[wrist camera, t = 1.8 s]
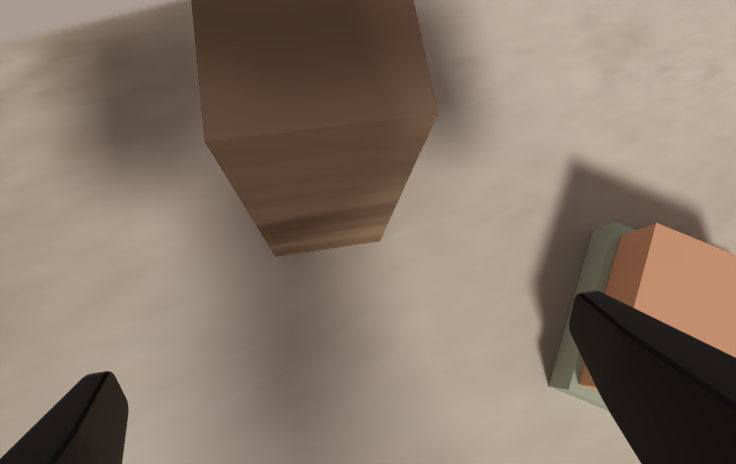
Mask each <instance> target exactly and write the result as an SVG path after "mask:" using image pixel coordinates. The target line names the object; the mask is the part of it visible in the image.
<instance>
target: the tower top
mask: <svg viewBox="0 0 736 464" xmlns="http://www.w3.org/2000/svg"><path fill="white" fill-rule="evenodd" d="M604 294H606V295H609V296H611V297H613V298H615V299H617V300H619V301H621V302H623V303H625V304H627V305H629V306H631V307H633V308H635V309H637V310H639V311H641V312H643V313H645V314H648V315H650V316H652V317H654V318H656V319H658V320H660V321H662V322H664V323H666V324H668V325H670V326H672V327H674V328H676V329H678V330H680V331H682V332H684V333H686V334H689V335H691V336H693V337H695V338H697V339H699V340H701V341H703V342H705V343H707V344H709V345H711V346H713V347H715V348H717V349H719V350H721V351H723V352H725V353H727V354H730V355H732V356H734V357H736V255H734V254H731V253H729V252H727V251H724V250H722V249H719V248H717V247H714V246H712V245H710V244H707V243H705V242H702V241H700V240H697V239H695V238H692V237H690V236H688V235H685V234H683V233H680V232H678V231H675V230H673V229H671V228H668V227H666V226H663V225H661V224H658V223H654V224H652V225H649V226H646V227H644V228H641V229H638V230H635V231H633V232H630V233H627V234H625V235H622V236H621V237H620V240H619V244H618V247H617V251H616V254H615V258H614V261H613V265H612V268H611V272H610V275H609V279H608V282H607V286H606V289H605V293H604ZM579 385H582V386H584V387H586V388H589V389H591V390H594V391H596V392H598V390H597V388H596V386H595V384H594V382H593V380H592V378H591V376H590V374H589V371H588V369H587V367H586V365H585V363H584V367H583V370H582V374H581V377H580V381H579ZM598 393H599V392H598Z"/></svg>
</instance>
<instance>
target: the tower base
mask: <svg viewBox="0 0 736 464" xmlns="http://www.w3.org/2000/svg"><path fill="white" fill-rule="evenodd" d="M635 230H636V229H634V228H631V227H629V226H626V225H624V224H621V223H619V222H616V221H614V222H612V223H609V224H607V225H605V226H603V227H600V228H598V229H596V230H594V231H593V232H592V235H591V239H590V242H589V246H588V249H587V253H586V256H585V260H584V263H583V267H582V270H581V274H580V277H579V281H578V284H577V288H576V291H575V295H574V297H575V296H576V294H578V293H580V292H586V291H592V290H597V291H600V292H602V293H605V289H606V286H607V282H608V279H609V275H610V272H611V268H612V265H613V261H614V258H615V254H616V251H617V247H618V244H619V240H620V237H621V236H622V235H625V234H627V233H630V232H633V231H635ZM573 301H574V298H573ZM572 305H573V302H572ZM572 305H571V309H570V312H569V316H568V319H567V323H566V326H565V330H564V333H563V337H562V340H561V344H560V347H559V351H558V354H557V358H556V361H555V365H554V368H553V372H552V375H551V379H550V382H549V387H551V388H554V389H556V390H559V391H561V392H564V393H566V394H568V395H571V396H573V397H576V398H578V399H581V400H583V401H586V402H588V403H590V404H593V405H595V406H598V407H600V408H603V409H605V410H607V411H609V410H608V408H607V407H606V405H605V403H604V402H603V400H602V398H601V396H600V394H599V393H598V392H596V391H594V390H591V389H589V388H586V387H584V386H582V385H579V381H580V377H581V374H582V370H583V367H584V361H583V359H582V357H581V355H580V353H579V351H578V349H577V347H576V344H575V342H574V340H573V338H572V336H571V334H570V330H569V319H570V315H571V310H572Z"/></svg>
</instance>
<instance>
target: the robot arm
mask: <svg viewBox="0 0 736 464" xmlns="http://www.w3.org/2000/svg"><path fill="white" fill-rule="evenodd" d="M569 330H570V334H571V336H572V338H573V340H574V342H575V344H576V347H577V349H578V351H579V353H580V355H581V357H582V359H583V361H584V363H585V365H586V367H587V369H588V371H589V374H590V376H591V378H592V380H593V382H594V384H595V386H596V388H597V390H598V392H599V394H600V396H601V398H602V400H603V402H604V403H605V405H606V407H607V408H608V410H609V412H610V413H611V415H612V417H613V418H614V420H615V422H616V423H617V425H618V426H619V428H620V430H621V431H622V433H623V435H624V436H625V438H626V439H627V441H628V443H629V444H630V446H631V447H632V449H633V451H634V452H635V454H636V456H637V457H638V459H639V460H640V462H641V464H736V357H734V356H732V355H730V354H727V353H725V352H723V351H721V350H719V349H717V348H715V347H713V346H711V345H709V344H707V343H705V342H703V341H701V340H699V339H697V338H695V337H693V336H691V335H689V334H686V333H684V332H682V331H680V330H678V329H676V328H674V327H672V326H670V325H668V324H666V323H664V322H662V321H660V320H658V319H656V318H654V317H652V316H650V315H648V314H645V313H643V312H641V311H639V310H637V309H635V308H633V307H631V306H629V305H627V304H625V303H623V302H621V301H619V300H617V299H615V298H613V297H611V296H609V295H606V294H604V293H602V292H600V291H597V290H592V291H586V292H580V293H578V294H576V296H575V297H574V301H573V305H572V310H571V315H570V319H569ZM127 419H128V402H127V399H126V397H125V395H124V393H123V391H122V389H121V387H120V385H119V383H118V381H117V379H116V377H115V375H114V374H113V373H112V372H110V371H105V372H99V373H93V374H88V375H86V376H85V377H83V378H82V379H81V380H80V381H79V382H78V383H77V384H76V385H75V386H74V387H73V388H72V389H71V390H70V391H69V392H68V393H67V394H66V395H65V396H64V397H63V398H62V399H61V400H60V401H59V402H58V403H57V404H56V405H55V406H54V407H53V408H52V409H51V410H49V411H48V412H47V413H46V414H45V415H44V416H43V417H42V418H41V419H40V420H39V421H38V422H37V423H36V424H35V425H34V426H33V427H32V428H31V429H30V430H29V431H28V432H27V433H26V434H25V435H24V436H23V437H22V438H21V439H20V440H19V441H18V442H17V443H16V444H15V445H14V446H13V447H12V448H11V449H10V450H9V451H8V452H7V453H6V454H5V455H4V456H3V457H2V458H1V459H0V464H122V460H123V452H124V444H125V436H126V428H127Z"/></svg>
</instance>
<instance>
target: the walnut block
mask: <svg viewBox="0 0 736 464" xmlns="http://www.w3.org/2000/svg"><path fill="white" fill-rule="evenodd" d="M191 1H192V11H193V22H194V32H195V43H196V53H197V64H198V74H199V85H200V95H201V106H202V116H203V127H204V137H205V143H206V144H207V146H208V147H209V149H210V151H211V152H212V154H213V156H214V157H215V159H216V160H217V162H218V164H219V165H220V167H221V169H222V170H223V172H224V173H225V175H226V177H227V178H228V180H229V182H230V183H231V185H232V186H233V188H234V190H235V191H236V193H237V195H238V196H239V198H240V199H241V201H242V203H243V204H244V206H245V208H246V209H247V211H248V212H249V214H250V216H251V217H252V219H253V221H254V222H255V224H256V225H257V227H258V229H259V230H260V232H261V234H262V235H263V237H264V238H265V240H266V242H267V243H268V245H269V247H270V248H271V250H272V251H273V253H274V255H275V256H281V255H288V254H295V253H302V252H308V251H315V250H322V249H329V248H336V247H343V246H349V245H356V244H363V243H370V242H377V241H380V239H381V237H382V235H383V233H384V231H385V228H386V226H387V224H388V222H389V220H390V217H391V215H392V213H393V211H394V209H395V206H396V204H397V202H398V200H399V198H400V195H401V193H402V191H403V189H404V187H405V185H406V182H407V180H408V178H409V176H410V174H411V171H412V169H413V167H414V165H415V163H416V160H417V158H418V156H419V154H420V152H421V149H422V147H423V145H424V143H425V141H426V139H427V136H428V134H429V132H430V130H431V128H432V125H433V123H434V121H435V119H436V117H437V109H436V104H435V100H434V95H433V90H432V86H431V81H430V76H429V72H428V67H427V62H426V58H425V53H424V48H423V44H422V39H421V34H420V29H419V25H418V20H417V15H416V11H415V6H414V1H413V0H191Z"/></svg>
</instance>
